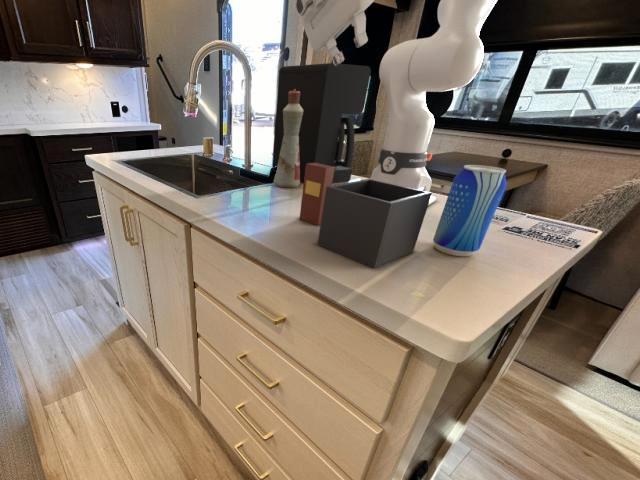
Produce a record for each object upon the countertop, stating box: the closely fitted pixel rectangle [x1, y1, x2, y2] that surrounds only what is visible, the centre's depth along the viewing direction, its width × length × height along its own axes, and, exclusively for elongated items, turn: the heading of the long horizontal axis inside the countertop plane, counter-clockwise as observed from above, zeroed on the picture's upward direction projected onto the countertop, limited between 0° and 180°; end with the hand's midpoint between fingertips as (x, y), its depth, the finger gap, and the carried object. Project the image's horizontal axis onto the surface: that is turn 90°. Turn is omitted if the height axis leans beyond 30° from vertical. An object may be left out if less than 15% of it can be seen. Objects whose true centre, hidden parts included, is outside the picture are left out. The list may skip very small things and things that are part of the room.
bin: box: [317, 178, 433, 269], centre depth 66 cm, size 14×14×12 cm
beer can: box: [432, 164, 508, 257], centre depth 66 cm, size 8×8×16 cm
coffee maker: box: [271, 62, 371, 184], centre depth 118 cm, size 28×20×35 cm
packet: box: [299, 163, 335, 226], centre depth 80 cm, size 3×6×13 cm, turn 37°
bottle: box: [273, 89, 303, 189], centre depth 108 cm, size 9×9×28 cm
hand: (350, 54), depth 69 cm, fingers open, 8 cm apart
